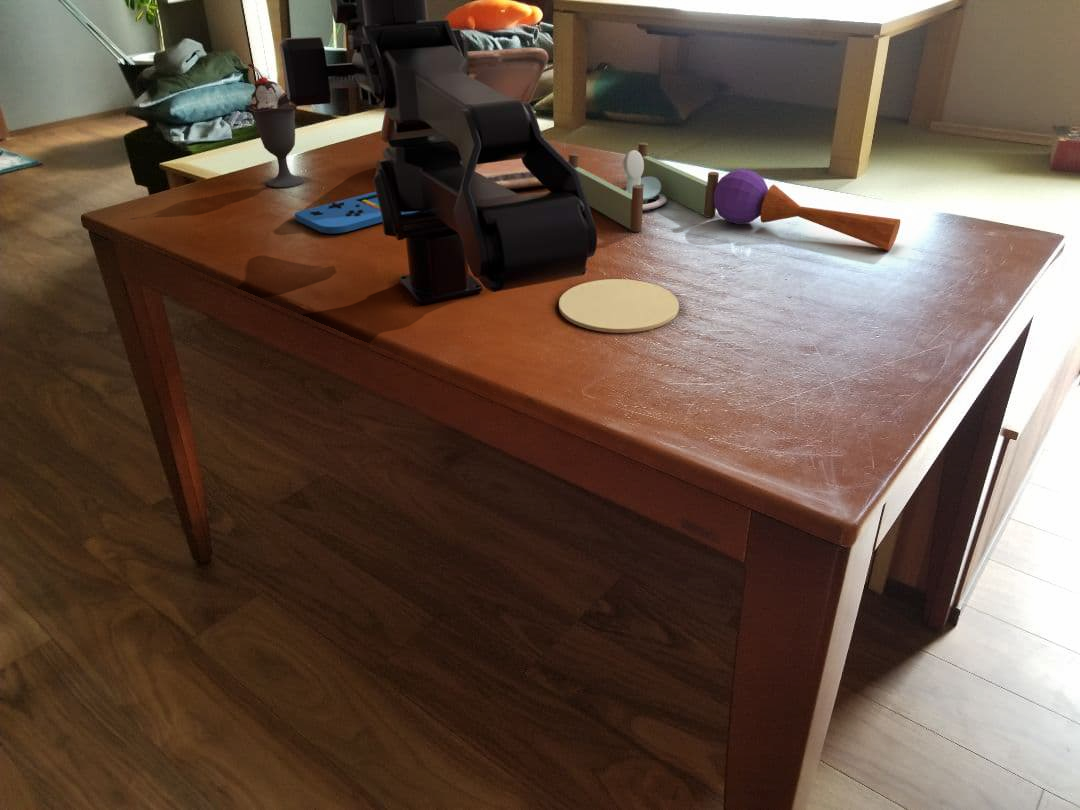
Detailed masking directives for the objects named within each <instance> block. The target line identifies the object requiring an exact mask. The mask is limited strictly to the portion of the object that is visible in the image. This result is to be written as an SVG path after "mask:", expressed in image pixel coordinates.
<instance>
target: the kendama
mask: <svg viewBox="0 0 1080 810" xmlns="http://www.w3.org/2000/svg"><path fill="white" fill-rule="evenodd" d="M714 205H715V207H716V212H717V214H718V215H719V216H720V217H721V218H722V219H724V221H726V222H729V223H733V224H737V225H744V224H750V223H752V222H754V221H755V220H756V219H758V218H759V219H760V221H761V223H763V224H764V223H770V222H775V221H780V220H785V219H791V218H796V217H798V218H801V219H803V220H806V221H808V222H811V223H814V224H817V225H819V226H822V227H824V228H828V229H830V230H832V231H835V232H838V233H839V234H840V233H841V234H843V235H846V236H848V237H850V238H853V239H857V240H859V241H862V242H864V243H867V244H870V245H872V246H875V247H878V248H879V249H883V250H885V251H888V252H890V251H891V250H892V248H893V246H894V244H895V242H896V239H897V236H898V234H899V230H900V226H901V219H899V218H893V217H884V216H878V215H869V214H864V213H863V214H861V213H853V212H847V211H840V210H831V209H823V208H817V207H816V208H815V207H807V206H801V205H800V204H798V203H797V202H796V201H795V200H794V199H792V198H791V197H790V196H789V195H787V194H786V193H785V192H784V191H783V190H782V189H780V188H779V187H778V186H776V185H775V184H772V185H770V186H769V188H768V185H767V182H766V181H765V179H764V178H763V177H761V175H760V174H758V173H757V172H755V171H754V170H749V169H746V168H740V169H735V170H732V171H729V172H727V174H725V175H724V176H722V177H721V178H720V179H719V180H718V184H717V186H716V188H715V191H714Z"/></svg>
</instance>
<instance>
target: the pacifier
mask: <svg viewBox="0 0 1080 810" xmlns="http://www.w3.org/2000/svg"><path fill="white" fill-rule="evenodd" d="M622 165H623V171H624V172H625V174H626V176H627V177H626V190H625V191H626V192H628V193H630V194H632V187H633V186H634V185H642V186H643V209H642V211H649V210H653V209H657V208H659V207H661V206H663V205H665V204H666V202H667V201H668V200H667V199H668V197H666V196H664V195H662V194H660V193H659V192H660V189H661V183H660V182H659V180H658V179H657V178H655V177H643V178H641V175H642V173H643V170H644V162H643V158H642V156H641V154H640V153H639V152H638V150H635V149H634V150H629V152H627V153H626V154H625V156H624V158H623V164H622ZM649 200H656V201H653V202H649ZM648 202H649V203H648Z"/></svg>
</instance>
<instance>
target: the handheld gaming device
mask: <svg viewBox="0 0 1080 810" xmlns="http://www.w3.org/2000/svg"><path fill="white" fill-rule="evenodd" d="M417 212H420V211H411V212H401V214H402V215H403V214H410V213H417ZM294 217H295V220H296V221H297V222H299V223H301V224H303V225H305V226H307V227H309V228H311V229H313V230H316V231H318V232H320V233H323V234H329V235H330V234H332V235H333V234H345V233H348V232H353V231H355V230H359V229H363V228H367V227H370V226H373V225H377V224H381V223H383V221H382V215H381V211H380V207H379V203H378V199H377V194H376V191H373V192H369V193H365V194H361V195H357V196H354V197H349V198H345V199H341V200H337V201H334V202H330V203H326V204H322V205H318V206H315V207H311V208H307V209H302V210H299V211H296V212H294Z"/></svg>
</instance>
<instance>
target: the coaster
mask: <svg viewBox="0 0 1080 810" xmlns="http://www.w3.org/2000/svg"><path fill="white" fill-rule="evenodd" d="M558 300H559V301H558V310H559V313H560V314H561V316H562V317H564V319H565V320H567V321H568V322H570V323H572V324H574V325H576V326H578V327H581V328H585V329H587V330H592V331H597V332H600V333H601V332H602V333H611V334H612V333H616V334H624V333H625V334H631V333H639V332H645V331H650V330H655V329H657V328H660V327H662V326H664V325H666V324H668V323H670V322H672V321H673V320H674V318H676V317H677V315H678V313H679V309H680V303H679V300H678V298H677V296H675V295H674V293H672V292H671V291H670V290H668V289H667V288H664V287H662V286H660V285H658V284H654V283H651V282H646V281H641V280H635V279H627V278H626V279H625V278H621V279H620V278H613V279H612V278H608V279H598V280H593V281H592V280H591V281H588V282H584V283H580V284H578V285H575V286H573V287H571V288H569V289H567V290H566V291H564V292H563V293H562V295H561V296H560V298H559V299H558Z"/></svg>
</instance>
